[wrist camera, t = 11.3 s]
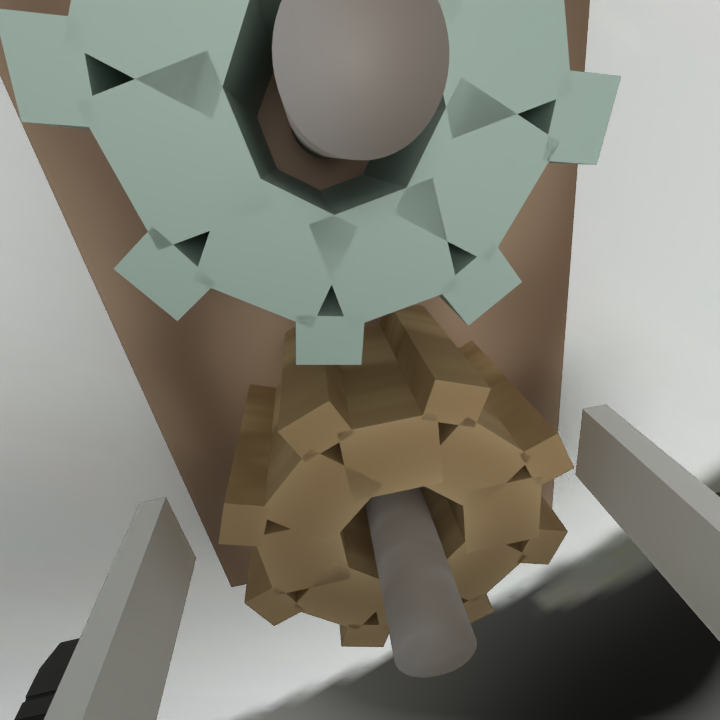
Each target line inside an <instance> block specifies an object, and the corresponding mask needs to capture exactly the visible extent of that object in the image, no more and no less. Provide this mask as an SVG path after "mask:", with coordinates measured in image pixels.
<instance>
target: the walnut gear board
mask: <svg viewBox="0 0 720 720" xmlns="http://www.w3.org/2000/svg"><path fill="white" fill-rule="evenodd" d="M70 3H71V0H0V9H6V10H16V11H25V12H34V13H43V14H52V15H61V16H68V14H69V8H70ZM564 4H565V16H566V28H567V40H568V52H569V65H570V71H579V72H584V71H585V58H586V45H587V31H588V18H589V4H590V0H564ZM272 61H273V72H272V74H271V77H270V80H269V83H268V86H267V89H266V92H265V95H264V98H263V101H262V103H261V106H260V109H259V112H258V115H257V119H258V121H259V124H260V127H261V129H262V132H263V134H264V137H265V139H266V142H267V144H268V147H269V149H270V152H271V155H272V157H273V160H274V162H275V165H276V167H277V169H279V170H281V171H283V172H285V173H287V174H289V175H291V176H293V177H295V178H297V179H299V180H301V181H303V182H305V183H307V184H309V185H311V186H313V187H314V188H316V189H318V190H322V189H325V188H327V187H330V186H333V185H335V184H338V183H341V182H343V181H346V180H349V179H351V178H354V177H356V176H359V175H362V174H363V172H364V170H365V168H366V166H367V163H368V161H369V160H374V159H379V158H383V157H386V156H389V155H391V154H393V153H396V152H397V151H399V150H401V149H403V148H404V147H406V146H407V145H408V144H410V143H411V142H412V141H413V140H415V139H416V138H417V137H418V136H419V135H420V134H421V133H422V131H423V130H424V129H425V127H426V126H427V125H428V124H429V122H430V121H431V119H432V117H433V116H434V114H435V112H436V110H437V108H438V106H439V104H440V101H441V99H442V96H443V93H444V90H445V86H446V81H447V77H448V69H449V39H448V31H447V27H446V22H445V18H444V15H443V12H442V9H441V6H440V4H439V2H438V0H282V1H281V3H280V6H279V9H278V13H277V16H276V19H275V25H274V30H273V40H272ZM0 76H1V79H2V81H3V83H4V85H5V87H6V90H7V92H8V94H9V96H10V98H11V101H12V103H13V105H14V107H15V110H16V112H17V114H18V116H19V118H20V115H19V111H18V106H17V102H16V98H15V94H14V90H13V86H12V82H11V78H10V74H9V70H8V66H7V62H6V58H5V54H4V49H3V45H2V41H1V37H0ZM20 121H21V119H20ZM21 123H22V125H23V127H24V129H25V132H26V134H27V136H28V138H29V140H30V143H31V145H32V147H33V149H34V152H35V154H36V156H37V158H38V160H39V163H40V165H41V167H42V169H43V171H44V174H45V176H46V178H47V180H48V182H49V185H50V187H51V189H52V191H53V194H54V196H55V198H56V200H57V202H58V205H59V207H60V209H61V211H62V213H63V216H64V218H65V220H66V222H67V224H68V227H69V229H70V231H71V233H72V236H73V238H74V240H75V242H76V244H77V247H78V249H79V251H80V253H81V255H82V258H83V260H84V262H85V264H86V266H87V269H88V271H89V273H90V275H91V278H92V280H93V282H94V284H95V286H96V289H97V291H98V293H99V295H100V297H101V300H102V302H103V304H104V306H105V308H106V311H107V313H108V315H109V317H110V320H111V322H112V324H113V326H114V328H115V331H116V333H117V335H118V337H119V339H120V342H121V344H122V346H123V348H124V350H125V353H126V355H127V357H128V359H129V362H130V364H131V366H132V368H133V370H134V373H135V375H136V377H137V379H138V381H139V384H140V386H141V388H142V390H143V392H144V395H145V397H146V399H147V401H148V404H149V406H150V408H151V410H152V412H153V415H154V417H155V419H156V421H157V423H158V426H159V428H160V430H161V432H162V434H163V437H164V439H165V441H166V443H167V446H168V448H169V450H170V452H171V454H172V457H173V459H174V461H175V463H176V465H177V468H178V470H179V472H180V474H181V476H182V479H183V481H184V483H185V485H186V488H187V490H188V492H189V494H190V496H191V499H192V501H193V503H194V505H195V507H196V510H197V512H198V514H199V516H200V518H201V521H202V523H203V525H204V527H205V530H206V532H207V534H208V536H209V538H210V541H211V543H212V545H213V547H214V549H215V552H216V554H217V556H218V558H219V560H220V563H221V565H222V567H223V569H224V572H225V574H226V576H227V578H228V580H229V583H230V585H231V587H235V586H239V585H244V584H247V578H248V570H249V561H250V553H251V546H242V545H226V544H218V543H219V536H220V529H221V522H222V515H223V508H224V501H225V497H226V492H227V488H228V483H229V478H230V474H231V469H232V465H233V460H234V455H235V451H236V446H237V441H238V437H239V432H240V428H241V423H242V418H243V414H244V409H245V404H246V400H247V395H248V391H249V386H250V384H253V385H260V386H267V387H273V388H276V387H277V386H278V385H279V383H280V382H281V380H282V370H283V357H284V345H285V333H286V332H287V331H289V330H290V329H292V328H293V327H295V326H296V322H295V321H292V320H290V319H287V318H285V317H282V316H280V315H277V314H275V313H272V312H270V311H267V310H265V309H262V308H260V307H257V306H255V305H252V304H250V303H247V302H245V301H242V300H240V299H237V298H235V297H232V296H230V295H227V294H225V293H222V292H220V291H217V290H215V289H212V288H210V289H209V290H208V291H207V292H206V293H205V294H204V295H203V296H202V297H201V298H200V299H199V300H198V301H197V302H196V303H195V304H194V305H193V306H192V307H191V308H190V309H189V310H188V311H187V312H186V313H185V314H184V315H183V316H182V317H181V318H180V319H179V320H178V321H177V320H175V319H174V318H173V317H172V316H171V315H169V314H168V313H167V312H166V311H164V310H163V309H162V308H161V307H160V306H158V305H157V304H156V303H155V302H153V301H152V300H151V299H150V298H149V297H147V296H146V295H145V294H144V293H142V292H141V291H140V290H139V289H137V288H136V287H135V286H134V285H133V284H131V283H130V282H129V281H128V280H126V279H125V278H124V277H123V276H122V275H120V274H119V273H118V272H117V271H115V270H114V268H115V267H116V266H117V264H118V263H119V262H120V261H121V260H122V259H123V258H124V257H125V256H126V255H127V254H128V253H129V251H130V250H131V249H132V248H133V247H134V246H135V245H136V244H137V243H138V242H139V241H140V240H141V238H142V237H143V236H144V235H145V234H146V233H147V232H148V231H147V229H146V227H145V226H144V224H143V222H142V220H141V219H140V217H139V215H138V213H137V211H136V210H135V208H134V206H133V204H132V203H131V201H130V199H129V197H128V195H127V194H126V192H125V190H124V188H123V187H122V185H121V183H120V181H119V179H118V178H117V176H116V174H115V172H114V171H113V169H112V167H111V165H110V163H109V162H108V160H107V158H106V156H105V155H104V153H103V151H102V149H101V147H100V146H99V144H98V142H97V140H96V139H95V137H94V135H93V133H92V131H91V130H86V129H78V128H69V127H61V126H52V125H44V124H35V123H27V122H21ZM577 166H578V164H561V163H548V164H547V165H546V167H545V169H544V171H543V172H542V174H541V176H540V177H539V179H538V181H537V182H536V184H535V186H534V187H533V189H532V191H531V192H530V194H529V196H528V197H527V199H526V201H525V202H524V204H523V206H522V207H521V209H520V211H519V212H518V214H517V216H516V217H515V219H514V221H513V223H512V224H511V226H510V228H509V229H508V231H507V233H506V234H505V236H504V238H503V239H502V241H501V243H500V244H499V246H498V248H499V250H500V251H501V253H502V254H503V256H504V257H505V258H506V260H507V261H508V263H509V264H510V266H511V267H512V268H513V270H514V271H515V273H516V274H517V276H518V277H519V278H520V280H521V281H522V282H521V283H520V284H519V285H518V286H516V287H515V288H514V289H513V290H512V291H510V292H509V293H508V294H507V295H505V296H504V297H503V298H502V299H501V300H499V301H498V302H497V303H496V304H494V305H493V306H492V307H491V308H489V309H488V310H487V311H486V312H485V313H483V314H482V315H481V316H480V317H478V318H477V319H476V320H475V321H474V322H472V323H471V324H470V325H469V326H468V325H467V324H466V323H465V322H464V321H463V320H462V319H461V318H460V317H459V316H458V315H457V314H456V313H455V312H454V311H453V310H452V309H451V308H450V307H449V306H448V305H447V304H446V303H445V302H444V301H443V300H442V299H441V298H440V297H439V296H436V297H433V298H430V299H428V300H425V301H422V302H419V303H417V304H416V305H421V306H424V307H425V308H426V310H427V311H428V312H429V313H430V315H431V316H432V317H433V318H434V319H435V321H436V322H437V323H438V324H439V325H440V327H441V328H442V329H443V330H444V332H445V333H446V334H447V335H448V336H449V338H450V339H451V340H452V341H453V343H454V344H455V345H456V346H457V347H458V348H460V347H462V346H463V345H465V344H467V343H469V342H470V341H473V342H474V343H475V344H476V345H477V346H478V348H479V349H480V350H481V351H482V352H483V353H484V354H485V355H486V356H487V357H488V358H489V359H490V360H491V362H492V363H493V364H494V365H495V366H496V367H497V368H498V369H499V370H500V371H501V372H502V373H503V374H504V376H505V377H506V378H507V379H508V380H509V381H510V382H511V383H512V384H513V385H514V386H515V387H516V388H517V390H518V391H519V392H520V393H521V394H522V395H523V396H524V397H525V398H526V399H527V400H528V401H529V402H530V404H531V405H532V406H533V407H534V408H535V409H536V410H537V411H538V412H539V413H540V414H541V415H542V417H543V418H544V419H545V420H546V421H547V422H548V423H549V424H550V425H551V426H552V427H553V428H554V429H555V431H556V432H557V433H558V421H559V408H560V394H561V381H562V367H563V354H564V341H565V327H566V314H567V300H568V287H569V273H570V260H571V246H572V233H573V219H574V206H575V193H576V179H577ZM381 318H382V316H381V317H379V318H376V319H373V320H370V321H368V322H365V323H364V327H367V326H372V325H377V324H380V321H381ZM553 488H554V479H552V480H551V481H549V482H547V483H545V484H543V485H542V488H541V494H542V496H543V497H544V499H545V500H546V502H547V503H548V504H549V506H550V507H551V509H552V502H553ZM365 506H366V511H367V517H368V522H369V528H370V533H371V538H372V544H373V549H374V554H375V560H376V565H377V570H378V576H379V581H380V586H381V592H382V597H383V602H384V608H385V613H386V618H387V624H388V629H389V634H390V640H391V645H392V650H393V656H394V661H395V664H396V666H397V668H398V669H399V670H400V671H402V672H403V673H405V674H407V675H410V676H414V677H433V676H439V675H442V674H445V673H448V672H451V671H453V670H455V669H457V668H459V667H460V666H462V665H463V664H465V663H466V662H467V661H468V660H469V659H470V658H471V657H472V655H473V654H474V652H475V650H476V647H477V641H476V638H475V635H474V632H473V630H472V627H471V624H470V621H469V618H468V616H467V613H466V610H465V607H464V605H463V602H462V599H461V596H460V594H459V591H458V588H457V585H456V583H455V580H454V577H453V574H452V572H451V569H450V566H449V563H448V561H447V558H446V555H445V553H444V550H443V547H442V544H441V542H440V539H439V536H438V533H437V531H436V528H435V525H434V522H433V520H432V517H431V514H430V511H429V509H428V506H427V503H426V500H425V498H424V495H423V492H422V489H421V487H418V488H414V489H409V490H404V491H399V492H395V493H390V494H385V495H381V496H376V497H371V498H370V499H369V500H368V502H367V503H366V504H365Z"/></svg>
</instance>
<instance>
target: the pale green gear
mask: <svg viewBox="0 0 720 720" xmlns="http://www.w3.org/2000/svg"><path fill="white" fill-rule="evenodd" d="M281 1H282V0H71V3H70V8H69V14H68V16H61V15H52V14H43V13H34V12H25V11H16V10H6V9H0V37H1V41H2V45H3V49H4V54H5V58H6V62H7V66H8V70H9V74H10V78H11V82H12V86H13V90H14V94H15V98H16V102H17V106H18V111H19V115H20V119H21V122H27V123H35V124H44V125H52V126H61V127H69V128H78V129H86V130H91V131H92V133H93V135H94V137H95V139H96V140H97V142H98V144H99V146H100V147H101V149H102V151H103V153H104V155H105V156H106V158H107V160H108V162H109V163H110V165H111V167H112V169H113V171H114V172H115V174H116V176H117V178H118V179H119V181H120V183H121V185H122V187H123V188H124V190H125V192H126V194H127V195H128V197H129V199H130V201H131V203H132V204H133V206H134V208H135V210H136V211H137V213H138V215H139V217H140V219H141V220H142V222H143V224H144V226H145V227H146V229H147V231H148V232H147V233H146V234H145V235H144V236H143V237H142V238H141V240H140V241H139V242H138V243H137V244H136V245H135V246H134V247H133V248H132V249H131V250H130V251H129V253H128V254H127V255H126V256H125V257H124V258H123V259H122V260H121V261H120V262H119V263H118V264H117V266H116V267H115V268H114V270H115V271H117V272H118V273H119V274H120V275H122V276H123V277H124V278H125V279H126V280H128V281H129V282H130V283H131V284H133V285H134V286H135V287H136V288H137V289H139V290H140V291H141V292H142V293H144V294H145V295H146V296H147V297H149V298H150V299H151V300H152V301H153V302H155V303H156V304H157V305H158V306H160V307H161V308H162V309H163V310H164V311H166V312H167V313H168V314H169V315H171V316H172V317H173V318H174V319H175V320H177V321H178V320H179V319H180V318H181V317H182V316H183V315H184V314H185V313H186V312H187V311H188V310H189V309H190V308H191V307H192V306H193V305H194V304H195V303H196V302H197V301H198V300H199V299H200V298H201V297H202V296H203V295H204V294H205V293H206V292H207V291H208V290H209V289H210V288H212V289H215V290H217V291H220V292H222V293H225V294H227V295H230V296H232V297H235V298H237V299H240V300H242V301H245V302H247V303H250V304H252V305H255V306H257V307H260V308H262V309H265V310H267V311H270V312H272V313H275V314H277V315H280V316H282V317H285V318H287V319H290V320H292V321H295V322H296V365H361V362H362V348H363V335H364V323H365V322H368V321H370V320H373V319H376V318H379V317H381V316H384V315H387V314H390V313H392V312H395V311H398V310H400V309H403V308H406V307H409V306H411V305H414V304H417V303H419V302H422V301H425V300H428V299H430V298H433V297H436V296H439V297H440V298H441V299H442V300H443V301H444V302H445V303H446V304H447V305H448V306H449V307H450V308H451V309H452V310H453V311H454V312H455V313H456V314H457V315H458V316H459V317H460V318H461V319H462V320H463V321H464V322H465V323H466V324H467V325H468V326H469V325H470V324H471V323H472V322H474V321H475V320H476V319H477V318H478V317H480V316H481V315H482V314H483V313H485V312H486V311H487V310H488V309H489V308H491V307H492V306H493V305H494V304H496V303H497V302H498V301H499V300H501V299H502V298H503V297H504V296H505V295H507V294H508V293H509V292H510V291H512V290H513V289H514V288H515V287H516V286H518V285H519V284H520V283H521V282H522V281H521V280H520V278H519V277H518V276H517V274H516V273H515V271H514V270H513V268H512V267H511V266H510V264H509V263H508V261H507V260H506V258H505V257H504V256H503V254H502V253H501V251H500V250H499V248H498V246H499V244H500V243H501V241H502V239H503V238H504V236H505V234H506V233H507V231H508V229H509V228H510V226H511V224H512V223H513V221H514V219H515V217H516V216H517V214H518V212H519V211H520V209H521V207H522V206H523V204H524V202H525V201H526V199H527V197H528V196H529V194H530V192H531V191H532V189H533V187H534V186H535V184H536V182H537V181H538V179H539V177H540V176H541V174H542V172H543V171H544V169H545V167H546V165H547V164H548V163H561V164H591V165H597V162H598V158H599V154H600V151H601V147H602V144H603V140H604V136H605V133H606V129H607V126H608V122H609V118H610V115H611V111H612V108H613V104H614V100H615V97H616V93H617V90H618V86H619V82H620V79H621V76H616V75H607V74H597V73H588V72H579V71H570V65H569V52H568V40H567V28H566V16H565V4H564V0H438V2H439V4H440V6H441V9H442V12H443V15H444V18H445V22H446V27H447V31H448V39H449V69H448V77H447V81H446V86H445V90H444V93H443V96H442V99H441V101H440V104H439V106H438V108H437V110H436V112H435V114H434V116H433V117H432V119H431V121H430V122H429V124H428V125H427V126H426V127H425V129H424V130H423V131H422V133H421V134H420V135H419V136H418V137H417V138H416V139H415V140H413V141H412V142H411V143H410V144H408V145H407V146H406V147H404V148H403V149H401V150H399V151H397V152H396V153H393V154H391V155H389V156H386V157H383V158H379V159H374V160H369V161H368V163H367V166H366V168H365V170H364V172H363V174H362V175H359V176H356V177H354V178H351V179H349V180H346V181H343V182H341V183H338V184H335V185H333V186H330V187H327V188H325V189H322V190H318V189H316V188H314V187H313V186H311V185H309V184H307V183H305V182H303V181H301V180H299V179H297V178H295V177H293V176H291V175H289V174H287V173H285V172H283V171H281V170H279V169H277V167H276V165H275V162H274V160H273V157H272V155H271V152H270V149H269V147H268V144H267V142H266V139H265V137H264V134H263V132H262V129H261V127H260V124H259V121H258V119H257V115H258V112H259V109H260V106H261V103H262V101H263V98H264V95H265V92H266V89H267V86H268V83H269V80H270V77H271V74H272V72H273V61H272V40H273V30H274V25H275V19H276V16H277V13H278V9H279V6H280V3H281Z"/></svg>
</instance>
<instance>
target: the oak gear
mask: <svg viewBox="0 0 720 720" xmlns="http://www.w3.org/2000/svg"><path fill="white" fill-rule="evenodd" d="M573 468H574V466H573V464H572V462H571V460H570V458H569V456H568V453H567V451H566V449H565V447H564V445H563V443H562V441H561V438H560V436H559V434H558V433H557V432H556V431H555V429H554V428H553V427H552V426H551V425H550V424H549V423H548V422H547V421H546V420H545V419H544V418H543V417H542V415H541V414H540V413H539V412H538V411H537V410H536V409H535V408H534V407H533V406H532V405H531V404H530V402H529V401H528V400H527V399H526V398H525V397H524V396H523V395H522V394H521V393H520V392H519V391H518V390H517V388H516V387H515V386H514V385H513V384H512V383H511V382H510V381H509V380H508V379H507V378H506V377H505V376H504V374H503V373H502V372H501V371H500V370H499V369H498V368H497V367H496V366H495V365H494V364H493V363H492V362H491V360H490V359H489V358H488V357H487V356H486V355H485V354H484V353H483V352H482V351H481V350H480V349H479V348H478V346H477V345H476V344H475V343H474V342H473V341H470V342H469V343H467V344H465V345H463V346H462V347H460V348H458V347H457V346H456V345H455V344H454V343H453V341H452V340H451V339H450V338H449V336H448V335H447V334H446V333H445V332H444V330H443V329H442V328H441V327H440V325H439V324H438V323H437V322H436V321H435V319H434V318H433V317H432V316H431V315H430V313H429V312H428V311H427V310H426V308H425V307H424V306H421V305H416V304H414V305H411V306H409V307H406V308H403V309H400V310H398V311H395V312H392V313H390V314H387V315H384V316H382V318H381V321H380V324H377V325H372V326H367V327H364V335H363V348H362V362H361V365H296V326H295V327H293V328H292V329H290V330H289V331H287V332H286V333H285V345H284V357H283V370H282V380H281V382H280V383H279V385H278V386H277V387H276V388H273V387H267V386H260V385H253V384H250V386H249V391H248V395H247V400H246V404H245V409H244V414H243V418H242V423H241V428H240V432H239V437H238V441H237V446H236V451H235V455H234V460H233V465H232V469H231V474H230V478H229V483H228V488H227V492H226V497H225V501H224V508H223V515H222V522H221V529H220V536H219V543H218V544H226V545H242V546H251V553H250V561H249V570H248V578H247V586H246V594H245V602H244V603H245V604H246V605H248V606H249V607H250V608H252V609H253V610H254V611H255V612H257V613H258V614H259V615H261V616H262V617H263V618H265V619H266V620H267V621H268V622H270V623H271V624H272V625H274V626H275V625H277V624H279V623H281V622H283V621H284V620H286V619H288V618H290V617H292V616H294V615H296V614H298V613H300V612H303V613H306V614H309V615H312V616H316V617H319V618H322V619H325V620H328V621H331V622H334V623H337V624H340V634H341V646H349V647H384V644H385V642H386V639H387V637H388V635H389V629H388V624H387V618H386V613H385V608H384V602H383V597H382V592H381V586H380V581H379V576H378V570H377V565H376V560H375V554H374V549H373V544H372V538H371V533H370V528H369V522H368V517H367V511H366V506H365V504H366V503H367V502H368V500H369V499H370V498H371V497H376V496H381V495H385V494H390V493H395V492H399V491H404V490H409V489H414V488H418V487H421V489H422V492H423V495H424V498H425V500H426V503H427V506H428V509H429V511H430V514H431V517H432V520H433V522H434V525H435V528H436V531H437V533H438V536H439V539H440V542H441V544H442V547H443V550H444V553H445V555H446V558H447V561H448V563H449V566H450V569H451V572H452V574H453V577H454V580H455V583H456V585H457V588H458V591H459V594H460V596H461V599H462V602H463V605H464V607H465V610H466V613H467V616H468V618H469V621H470V623H472V622H474V621H476V620H478V619H480V618H482V617H484V616H486V615H488V614H490V613H492V612H494V610H493V608H492V606H491V603H490V601H489V599H488V596H487V594H486V593H487V592H488V591H490V590H491V589H492V588H493V587H494V586H495V585H496V584H497V583H498V582H500V581H501V580H502V579H503V578H504V577H505V576H506V575H507V574H509V573H510V572H511V571H512V570H513V569H514V568H515V567H516V566H518V565H519V564H520V563H532V564H549V562H550V561H551V559H552V557H553V556H554V554H555V552H556V551H557V549H558V547H559V546H560V544H561V542H562V541H563V539H564V537H565V536H566V534H567V532H568V531H567V530H566V528H565V527H564V525H563V524H562V523H561V521H560V520H559V518H558V517H557V516H556V514H555V513H554V511H553V510H552V509H551V507H550V506H549V504H548V503H547V502H546V500H545V499H544V497H543V496H542V494H541V488H542V485H543V484H545V483H547V482H549V481H551V480H552V479H554V478H556V477H558V476H560V475H562V474H564V473H566V472H568V471H569V470H571V469H573Z"/></svg>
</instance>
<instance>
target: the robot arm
mask: <svg viewBox="0 0 720 720" xmlns="http://www.w3.org/2000/svg"><path fill="white" fill-rule="evenodd" d="M576 476H577V477H578V478H579V479H580V480H581V482H582V483H583V484H584V485H585V486H586V487H587V489H588V490H589V491H590V492H591V493H592V494H593V495H594V497H595V498H596V499H597V500H598V501H599V502H600V504H601V505H602V506H603V507H604V508H605V509H606V510H607V512H608V513H609V514H610V515H611V516H612V517H613V519H614V520H615V521H616V522H617V523H618V524H619V526H620V527H621V528H622V529H623V530H624V531H625V532H626V534H627V535H628V536H629V537H630V538H631V539H632V541H633V542H634V543H635V544H636V545H637V546H638V547H639V549H640V550H641V551H642V552H643V553H644V554H645V556H646V557H647V558H648V559H649V560H650V561H651V563H652V564H653V565H654V566H655V567H656V568H657V569H658V571H659V572H660V573H661V574H662V575H663V576H664V577H665V579H666V580H667V581H668V582H669V583H670V584H671V585H672V587H673V588H674V589H675V590H676V591H677V592H678V593H679V595H680V596H681V597H682V598H683V599H684V601H685V602H686V603H687V604H688V605H689V606H690V608H691V609H692V610H693V611H694V612H695V613H696V615H697V616H698V617H699V618H700V619H701V620H702V621H703V622H704V624H705V625H706V626H707V627H708V628H709V630H710V631H711V632H712V633H713V634H714V635H715V636H716V638H717V639H718V640H719V641H720V492H718V493H714V492H713V491H712V490H711V489H709V488H708V487H707V486H706V485H704V484H703V483H702V482H701V481H699V480H698V479H697V478H696V477H695V476H693V475H692V474H691V473H690V472H688V471H687V470H686V469H685V468H684V467H682V466H681V465H680V464H679V463H677V462H676V461H675V460H674V459H672V458H671V457H670V456H669V455H668V454H666V453H665V452H664V451H663V450H661V449H660V448H659V447H658V446H657V445H655V444H654V443H653V442H652V441H650V440H649V439H648V438H647V437H646V436H644V435H643V434H642V433H641V432H639V431H638V430H637V429H636V428H634V427H633V426H632V425H631V424H630V423H628V422H627V421H626V420H625V419H623V418H622V417H621V416H620V415H619V414H617V413H616V412H615V411H614V410H612V409H611V408H610V407H609V406H607V405H606V404H604V405H599V406H595V407H590V408H585V409H583V412H582V421H581V430H580V439H579V448H578V457H577V466H576ZM195 560H196V557H195V555H194V553H193V551H192V549H191V547H190V545H189V543H188V541H187V539H186V537H185V535H184V533H183V531H182V529H181V527H180V525H179V523H178V521H177V519H176V517H175V515H174V513H173V511H172V509H171V507H170V505H169V503H168V501H167V499H166V497H164V498H160V499H155V500H150V501H146V502H141V503H140V504H139V506H138V508H137V511H136V513H135V515H134V517H133V520H132V522H131V524H130V526H129V529H128V531H127V533H126V535H125V538H124V540H123V542H122V544H121V547H120V549H119V551H118V553H117V556H116V558H115V560H114V563H113V565H112V567H111V569H110V572H109V574H108V576H107V578H106V581H105V583H104V585H103V587H102V590H101V592H100V594H99V596H98V599H97V601H96V603H95V605H94V608H93V610H92V612H91V614H90V617H89V619H88V621H87V623H86V626H85V628H84V630H83V632H82V635H81V637H80V638H79V639H74V640H70V641H66V642H61V643H60V644H59V645H58V646H57V648H56V649H55V650H54V651H53V653H52V654H51V655H50V656H49V658H48V659H47V660H46V661H45V663H44V664H43V665H42V666H41V668H40V669H39V671H38V673H37V675H36V677H35V679H34V681H33V683H32V685H31V687H30V689H29V691H28V693H27V695H26V701H25V702H23V703H22V705H21V707H20V709H19V711H18V713H17V715H16V717H15V719H14V720H156V719H157V715H158V711H159V707H160V703H161V699H162V695H163V690H164V686H165V682H166V678H167V674H168V670H169V666H170V662H171V658H172V654H173V650H174V646H175V642H176V638H177V633H178V629H179V625H180V621H181V617H182V613H183V609H184V605H185V601H186V597H187V593H188V589H189V585H190V580H191V576H192V572H193V568H194V564H195Z"/></svg>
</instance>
